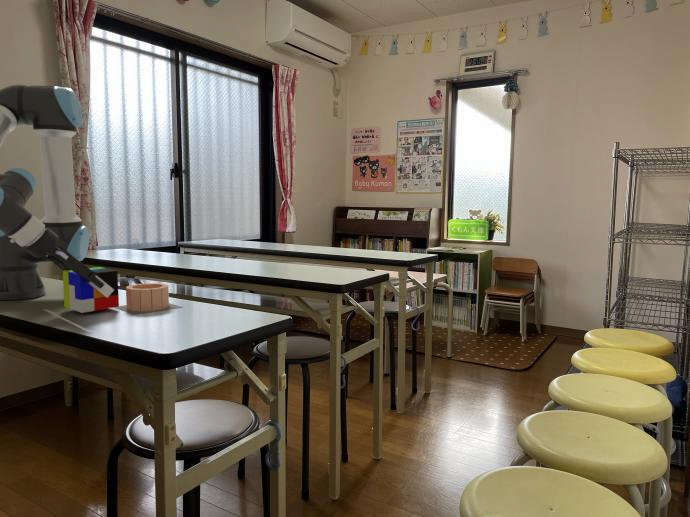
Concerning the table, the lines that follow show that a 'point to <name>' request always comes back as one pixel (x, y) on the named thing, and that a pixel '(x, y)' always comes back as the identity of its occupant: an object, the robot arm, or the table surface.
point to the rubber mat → (124, 308)
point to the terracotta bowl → (147, 297)
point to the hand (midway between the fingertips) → (102, 290)
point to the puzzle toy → (89, 291)
